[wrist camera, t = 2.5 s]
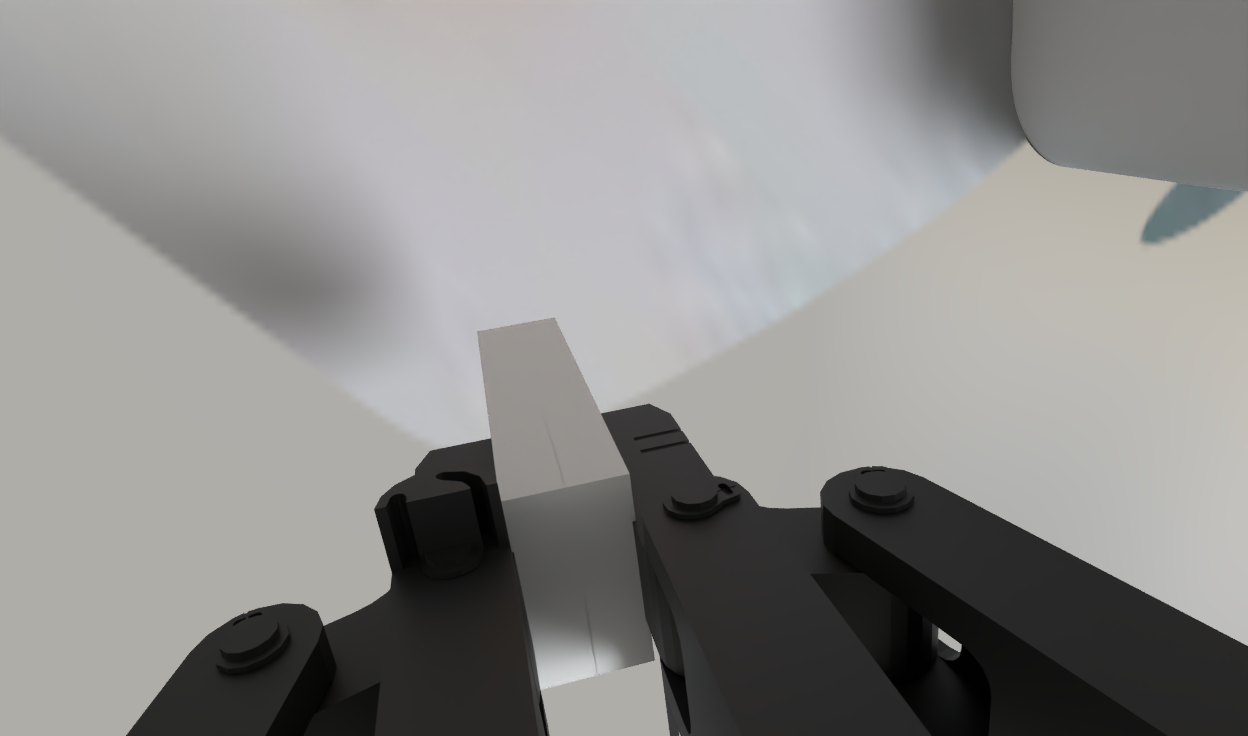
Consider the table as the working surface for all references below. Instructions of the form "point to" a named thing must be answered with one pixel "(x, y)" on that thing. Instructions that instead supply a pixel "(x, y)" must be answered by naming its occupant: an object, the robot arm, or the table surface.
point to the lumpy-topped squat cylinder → (1136, 87)
